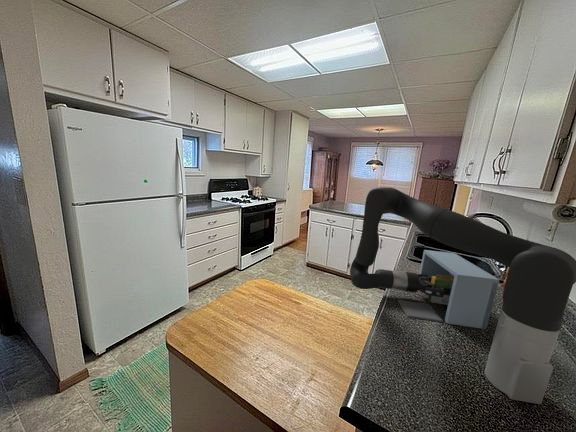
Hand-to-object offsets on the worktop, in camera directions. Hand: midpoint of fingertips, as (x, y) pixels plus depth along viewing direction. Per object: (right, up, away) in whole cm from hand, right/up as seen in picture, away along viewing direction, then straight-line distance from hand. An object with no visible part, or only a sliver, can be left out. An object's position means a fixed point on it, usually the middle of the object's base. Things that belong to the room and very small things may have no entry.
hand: (447, 286), depth 90 cm
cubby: (-1, -7, -1) cm, 7 cm away
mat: (-14, -7, -6) cm, 17 cm away
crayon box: (-2, -7, +2) cm, 7 cm away
